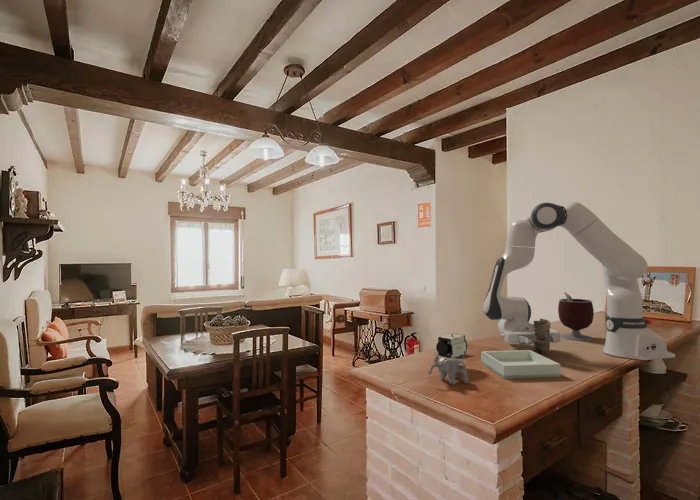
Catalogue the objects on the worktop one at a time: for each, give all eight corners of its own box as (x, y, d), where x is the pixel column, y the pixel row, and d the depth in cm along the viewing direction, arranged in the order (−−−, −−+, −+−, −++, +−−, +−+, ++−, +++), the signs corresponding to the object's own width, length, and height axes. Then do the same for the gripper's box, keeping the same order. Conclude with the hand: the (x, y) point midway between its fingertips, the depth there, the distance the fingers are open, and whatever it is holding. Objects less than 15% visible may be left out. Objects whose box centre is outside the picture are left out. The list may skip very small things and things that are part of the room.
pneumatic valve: (436, 370, 128) (435, 334, 128) (456, 363, 135) (455, 329, 136) (449, 374, 124) (449, 336, 124) (470, 367, 131) (469, 331, 131)
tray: (530, 361, 137) (530, 350, 137) (560, 377, 119) (560, 364, 119) (481, 362, 136) (481, 351, 136) (503, 378, 118) (503, 365, 118)
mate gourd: (601, 341, 167) (600, 295, 167) (569, 341, 167) (568, 295, 168) (580, 333, 183) (579, 291, 183) (551, 334, 183) (550, 292, 183)
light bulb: (550, 358, 140) (549, 317, 140) (552, 362, 135) (551, 320, 135) (533, 357, 142) (532, 317, 142) (535, 361, 137) (534, 319, 137)
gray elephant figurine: (473, 383, 115) (473, 357, 116) (449, 390, 108) (449, 363, 108) (447, 376, 122) (448, 352, 123) (423, 383, 115) (423, 357, 115)
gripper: (497, 325, 152) (514, 332, 138) (547, 324, 153) (569, 331, 139) (497, 341, 152) (514, 350, 138) (548, 340, 153) (569, 348, 139)
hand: (542, 340), depth 138 cm, fingers open, 8 cm apart
